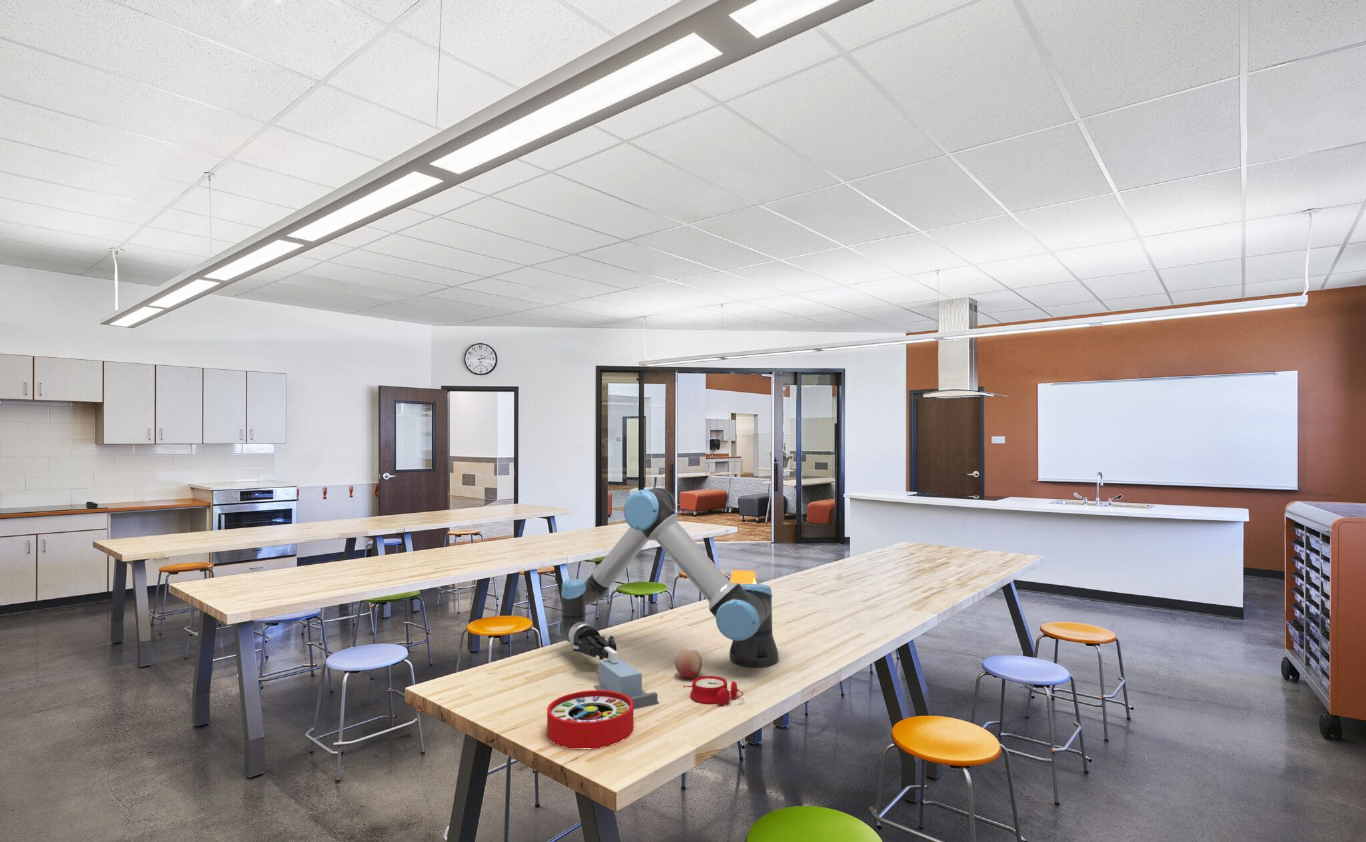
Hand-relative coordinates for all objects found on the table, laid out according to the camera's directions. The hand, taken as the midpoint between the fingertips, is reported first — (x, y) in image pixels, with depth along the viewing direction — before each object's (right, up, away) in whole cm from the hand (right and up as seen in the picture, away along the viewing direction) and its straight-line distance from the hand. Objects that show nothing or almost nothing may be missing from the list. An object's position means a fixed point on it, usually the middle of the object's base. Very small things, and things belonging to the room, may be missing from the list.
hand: (615, 658), depth 181 cm
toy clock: (-3, -7, -28) cm, 29 cm away
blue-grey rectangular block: (-2, -5, +4) cm, 7 cm away
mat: (+3, -8, -6) cm, 10 cm away
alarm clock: (+27, -8, -9) cm, 30 cm away
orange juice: (+41, -10, +62) cm, 75 cm away
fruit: (+20, -8, +7) cm, 23 cm away
